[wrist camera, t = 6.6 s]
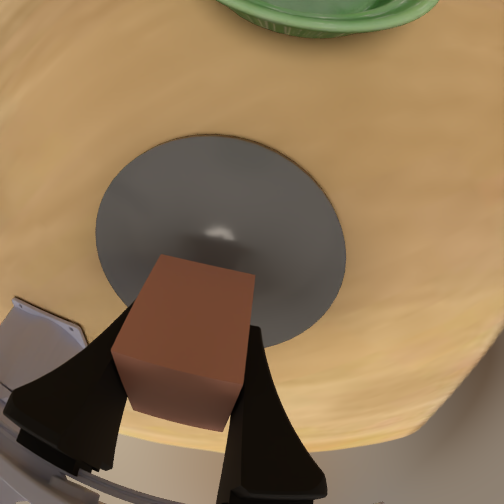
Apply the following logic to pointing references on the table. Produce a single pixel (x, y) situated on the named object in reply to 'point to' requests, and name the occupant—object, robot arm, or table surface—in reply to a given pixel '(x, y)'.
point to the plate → (226, 226)
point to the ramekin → (329, 15)
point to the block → (186, 342)
